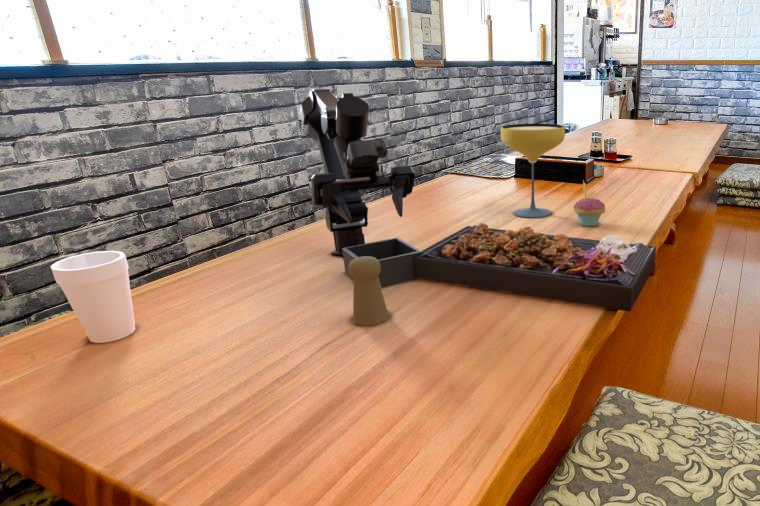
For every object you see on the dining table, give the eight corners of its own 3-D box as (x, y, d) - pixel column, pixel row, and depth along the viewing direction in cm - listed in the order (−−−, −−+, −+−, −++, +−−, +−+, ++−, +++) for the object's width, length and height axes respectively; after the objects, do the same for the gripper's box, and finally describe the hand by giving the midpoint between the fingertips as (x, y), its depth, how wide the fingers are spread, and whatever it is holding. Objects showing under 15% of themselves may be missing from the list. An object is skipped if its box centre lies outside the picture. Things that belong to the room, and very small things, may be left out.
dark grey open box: (345, 272, 113) (341, 247, 111) (400, 260, 120) (397, 237, 118) (366, 291, 104) (363, 264, 102) (424, 276, 110) (422, 251, 108)
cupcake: (569, 226, 144) (570, 182, 139) (578, 218, 151) (579, 176, 147) (600, 229, 141) (603, 184, 136) (607, 221, 148) (610, 178, 144)
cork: (379, 327, 89) (372, 265, 85) (346, 324, 90) (337, 263, 86) (394, 312, 94) (387, 253, 90) (362, 309, 96) (355, 251, 92)
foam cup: (92, 353, 82) (65, 275, 77) (66, 338, 87) (39, 264, 82) (157, 328, 90) (136, 256, 85) (130, 316, 94) (109, 247, 89)
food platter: (654, 266, 113) (658, 219, 109) (630, 311, 92) (634, 255, 88) (467, 243, 130) (466, 202, 126) (411, 277, 109) (407, 228, 105)
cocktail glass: (540, 203, 169) (540, 122, 160) (575, 215, 155) (578, 126, 146) (491, 211, 161) (489, 126, 151) (523, 224, 146) (523, 131, 137)
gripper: (302, 128, 93) (323, 194, 86) (405, 122, 101) (432, 182, 94) (304, 173, 101) (323, 236, 95) (399, 164, 110) (423, 222, 103)
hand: (376, 218), depth 96 cm, fingers open, 9 cm apart
